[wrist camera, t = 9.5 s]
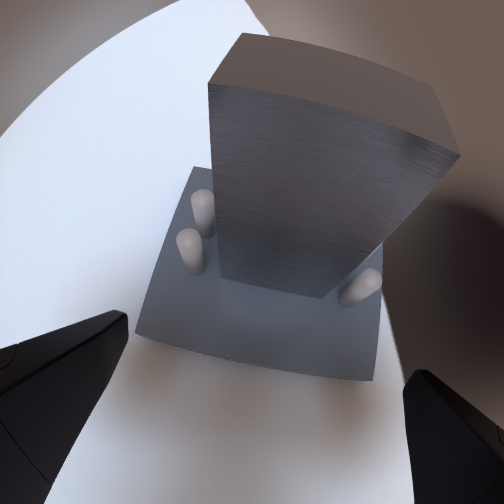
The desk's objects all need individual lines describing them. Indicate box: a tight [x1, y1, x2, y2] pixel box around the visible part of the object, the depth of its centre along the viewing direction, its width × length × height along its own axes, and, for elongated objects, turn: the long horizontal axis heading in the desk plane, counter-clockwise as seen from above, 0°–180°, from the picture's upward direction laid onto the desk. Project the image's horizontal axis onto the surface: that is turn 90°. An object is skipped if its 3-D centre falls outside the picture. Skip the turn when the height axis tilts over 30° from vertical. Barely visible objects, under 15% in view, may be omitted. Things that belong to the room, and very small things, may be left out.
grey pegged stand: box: [135, 166, 383, 381], centre depth 16 cm, size 12×14×5 cm
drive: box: [208, 33, 461, 299], centre depth 12 cm, size 3×6×12 cm, turn 78°
